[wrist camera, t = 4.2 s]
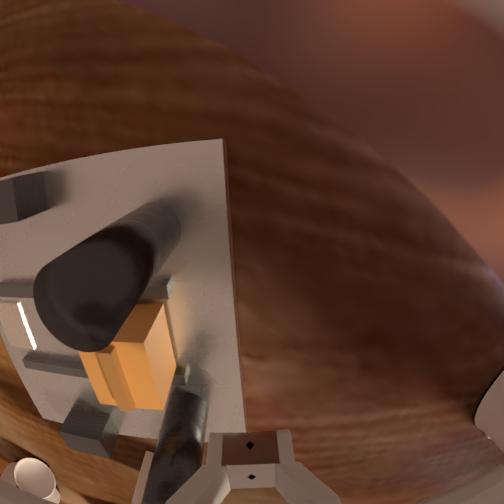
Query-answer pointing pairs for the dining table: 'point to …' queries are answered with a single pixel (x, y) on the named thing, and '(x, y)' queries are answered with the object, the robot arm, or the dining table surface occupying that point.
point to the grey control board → (126, 294)
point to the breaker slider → (134, 362)
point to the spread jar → (32, 478)
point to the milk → (142, 478)
